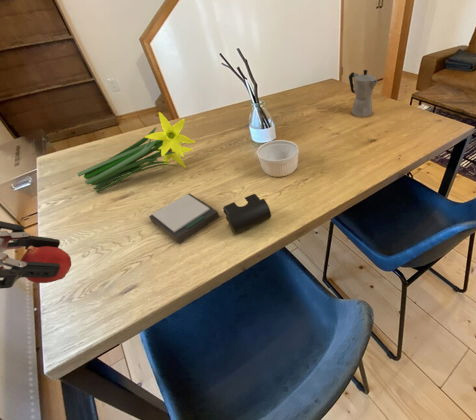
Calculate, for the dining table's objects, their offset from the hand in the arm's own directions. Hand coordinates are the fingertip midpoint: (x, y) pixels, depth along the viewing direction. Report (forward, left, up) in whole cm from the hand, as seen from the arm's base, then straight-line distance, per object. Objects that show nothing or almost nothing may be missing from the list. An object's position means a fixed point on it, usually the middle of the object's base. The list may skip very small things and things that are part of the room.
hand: (57, 257), depth 45 cm
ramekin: (+57, +6, -16) cm, 59 cm away
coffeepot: (+111, +8, -16) cm, 112 cm away
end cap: (+33, -6, -16) cm, 37 cm away
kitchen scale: (+24, +10, -16) cm, 30 cm away
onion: (-2, 0, -4) cm, 5 cm away
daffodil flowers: (+28, +37, -16) cm, 49 cm away
